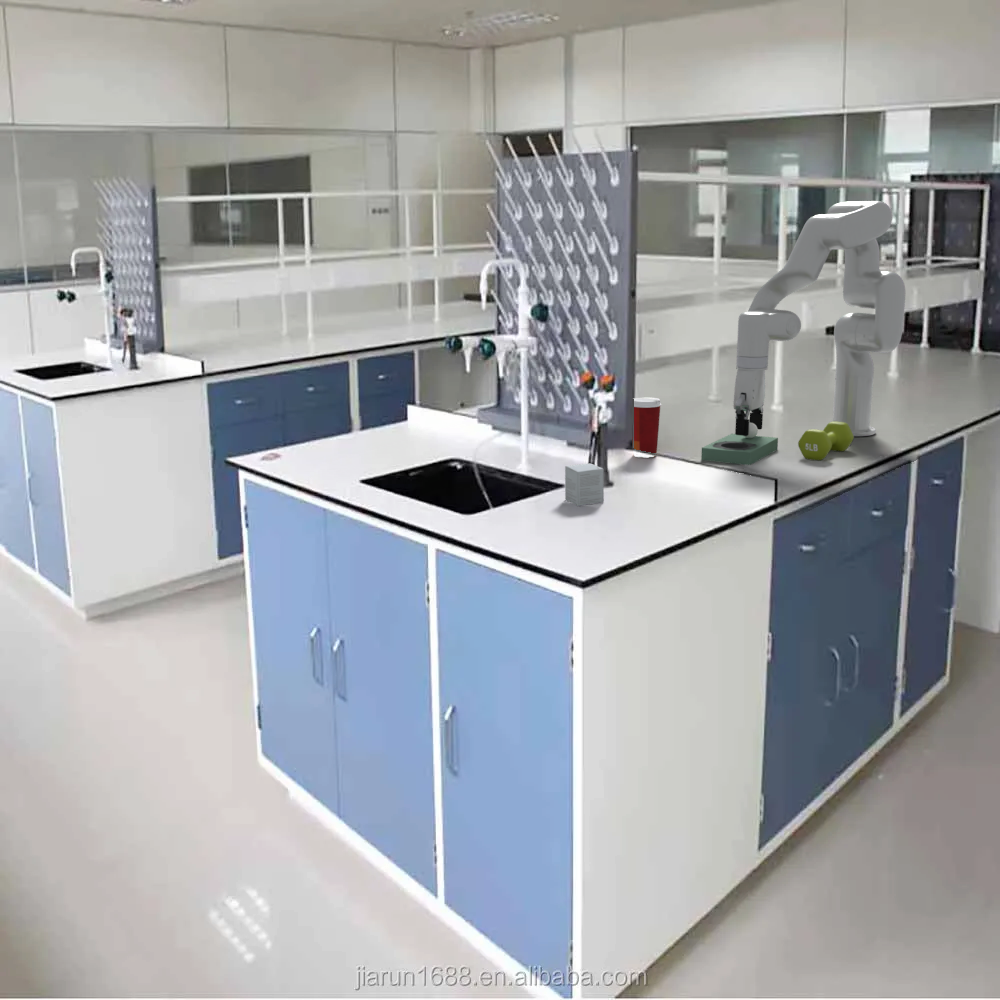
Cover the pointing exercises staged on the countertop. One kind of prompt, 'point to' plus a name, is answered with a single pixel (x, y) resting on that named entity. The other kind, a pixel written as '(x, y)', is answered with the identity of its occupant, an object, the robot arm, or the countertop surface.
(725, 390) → the countertop surface
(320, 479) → the countertop surface
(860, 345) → the robot arm
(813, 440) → the dumbbell
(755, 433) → the ball
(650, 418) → the paper cup
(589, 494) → the product box
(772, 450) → the putting mat
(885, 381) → the countertop surface
